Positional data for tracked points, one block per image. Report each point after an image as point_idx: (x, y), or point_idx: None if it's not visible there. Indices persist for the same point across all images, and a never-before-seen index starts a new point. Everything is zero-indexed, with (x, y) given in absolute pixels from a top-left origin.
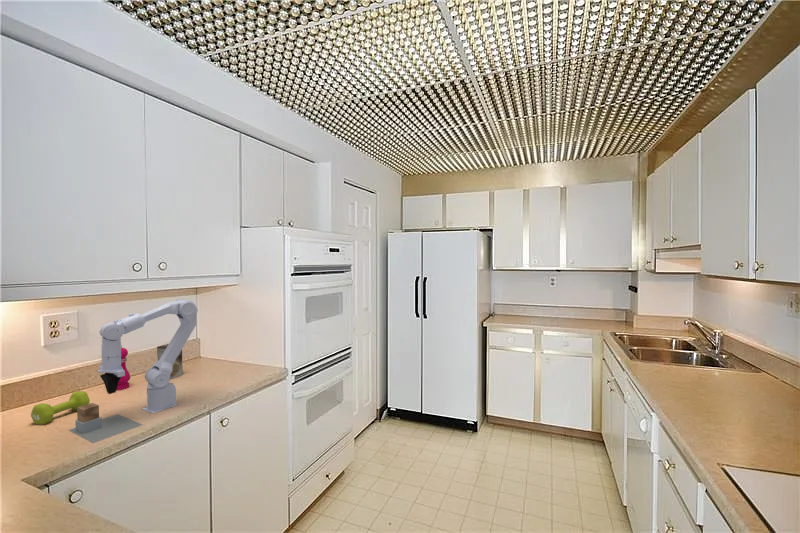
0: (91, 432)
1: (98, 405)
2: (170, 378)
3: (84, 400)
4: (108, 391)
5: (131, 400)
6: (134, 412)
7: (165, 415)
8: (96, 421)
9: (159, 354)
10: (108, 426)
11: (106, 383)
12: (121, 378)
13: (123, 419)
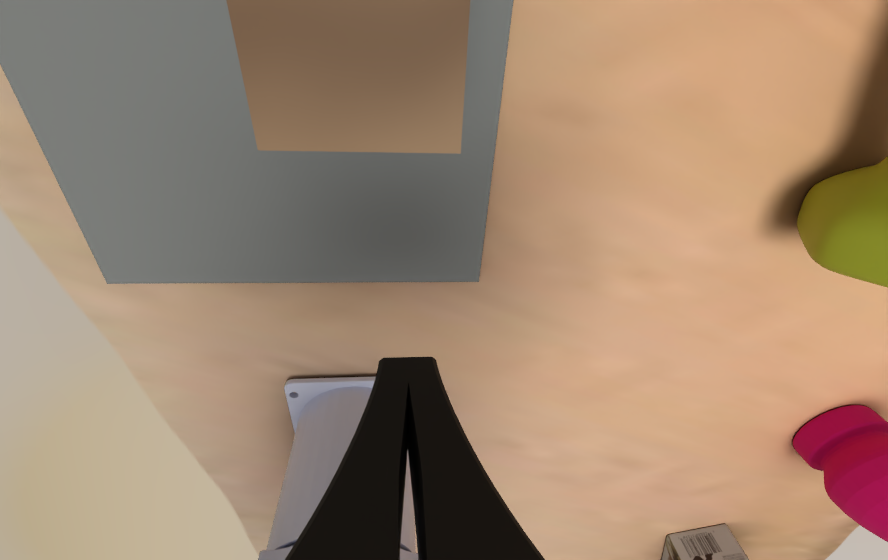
0: None
1: (257, 145)
2: (667, 545)
3: (852, 238)
4: (377, 382)
5: (618, 395)
6: (420, 340)
7: (204, 399)
8: None
9: None
10: None
11: (382, 515)
12: (865, 487)
13: (335, 259)
